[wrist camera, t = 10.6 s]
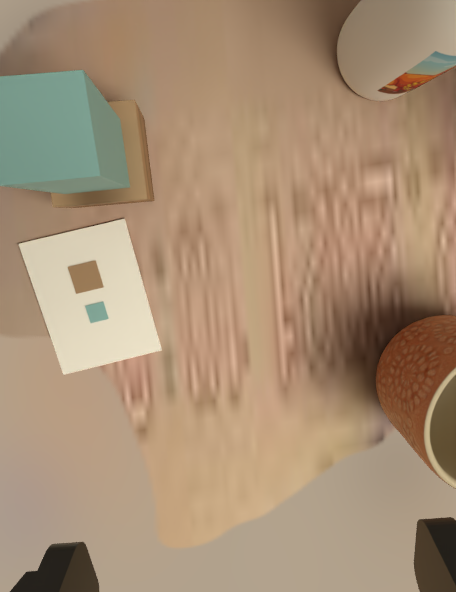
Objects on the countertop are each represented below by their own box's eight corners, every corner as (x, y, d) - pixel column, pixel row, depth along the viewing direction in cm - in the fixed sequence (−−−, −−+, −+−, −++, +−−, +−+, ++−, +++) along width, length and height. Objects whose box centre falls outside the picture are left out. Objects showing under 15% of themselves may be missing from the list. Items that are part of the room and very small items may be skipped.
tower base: (144, 119, 34) (134, 99, 28) (154, 200, 35) (147, 199, 29) (62, 125, 33) (35, 106, 27) (76, 207, 34) (52, 207, 29)
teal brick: (119, 118, 28) (83, 69, 18) (130, 187, 29) (100, 175, 19) (51, 124, 28) (-23, 78, 18) (64, 194, 28) (-1, 185, 19)
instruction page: (124, 218, 35) (124, 218, 35) (161, 349, 37) (161, 350, 37) (19, 243, 34) (17, 243, 34) (64, 373, 37) (63, 375, 37)
